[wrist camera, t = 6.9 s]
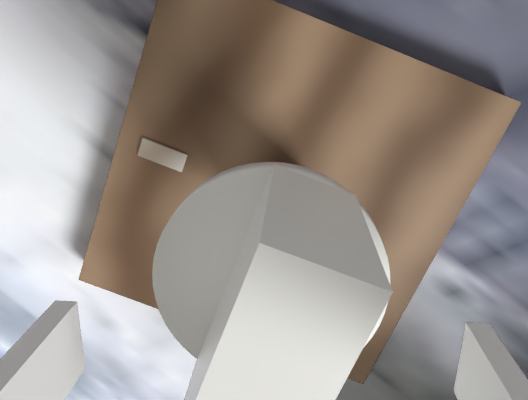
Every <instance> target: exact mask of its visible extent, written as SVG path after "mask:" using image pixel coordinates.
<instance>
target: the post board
mask: <svg viewBox="0 0 528 400" xmlns="http://www.w3.org/2000/svg"><path fill="white" fill-rule="evenodd" d="M520 104H521V102H519V101H516V100H514V99H511V98H509V97H507V96H504V95H502V94H499V93H497V92H494V91H492V90H490V89H487V88H485V87H482V86H480V85H477V84H475V83H473V82H470V81H468V80H465V79H463V78H460V77H458V76H455V75H453V74H451V73H448V72H446V71H443V70H441V69H438V68H436V67H434V66H431V65H429V64H426V63H424V62H421V61H419V60H417V59H414V58H412V57H409V56H407V55H404V54H402V53H400V52H397V51H395V50H392V49H390V48H387V47H385V46H383V45H380V44H378V43H375V42H373V41H370V40H368V39H365V38H363V37H361V36H358V35H356V34H353V33H351V32H348V31H346V30H344V29H341V28H339V27H336V26H334V25H331V24H329V23H327V22H324V21H322V20H319V19H317V18H314V17H312V16H310V15H307V14H305V13H302V12H300V11H297V10H295V9H293V8H290V7H288V6H285V5H283V4H280V3H278V2H275V1H273V0H157V3H156V7H155V10H154V14H153V17H152V21H151V24H150V28H149V32H148V35H147V39H146V42H145V46H144V49H143V53H142V56H141V60H140V64H139V67H138V71H137V74H136V78H135V81H134V85H133V88H132V92H131V95H130V99H129V103H128V106H127V110H126V113H125V117H124V120H123V124H122V127H121V131H120V135H119V138H118V142H117V145H116V149H115V152H114V156H113V159H112V163H111V166H110V170H109V174H108V177H107V181H106V184H105V188H104V191H103V195H102V198H101V202H100V206H99V209H98V213H97V216H96V220H95V223H94V227H93V230H92V234H91V237H90V241H89V245H88V248H87V252H86V255H85V259H84V262H83V266H82V269H81V273H80V277H79V280H81V281H84V282H86V283H89V284H92V285H94V286H97V287H100V288H103V289H105V290H108V291H111V292H114V293H116V294H119V295H122V296H124V297H127V298H130V299H133V300H135V301H138V302H141V303H144V304H146V305H149V306H152V307H154V308H157V309H159V308H158V305H157V302H156V299H155V294H154V289H153V279H152V269H153V258H154V254H155V250H156V246H157V243H158V241H159V238H160V236H161V234H162V231H163V230H164V228H165V226H166V225H167V223H168V221H169V220H170V218H171V217H172V215H173V214H174V212H175V211H176V210H177V208H178V207H179V206H180V204H181V203H182V202H183V201H184V199H185V198H186V197H187V196H188V195H189V194H190V193H191V192H192V191H193V190H194V189H195V188H197V187H198V186H199V185H200V184H202V183H203V182H205V181H206V180H208V179H209V178H211V177H213V176H215V175H217V174H219V173H221V172H222V171H225V170H228V169H231V168H234V167H236V166H241V165H245V164H250V163H258V162H284V163H289V164H295V165H300V166H303V167H306V168H310V169H313V170H315V171H318V172H320V173H322V174H324V175H326V176H328V177H330V178H331V179H333V180H335V181H336V182H338V183H339V184H341V185H342V186H343V187H345V188H346V189H347V190H348V191H349V192H351V193H352V194H354V195H356V197H357V199H358V201H359V202H360V203H361V204H362V205H363V206H364V208H365V209H366V211H367V212H368V214H369V215H370V217H371V218H372V220H373V222H374V224H375V226H376V228H377V231H378V233H379V235H380V238H381V240H382V242H383V245H384V248H385V251H386V254H387V257H388V262H389V268H390V286H391V289H392V291H393V293H392V295H391V297H390V299H389V301H388V304H387V308H386V311H385V314H384V316H383V319H382V321H381V323H380V325H379V327H378V329H377V330H376V332H375V334H374V335H373V337H372V338H371V339H370V341H369V342H368V343H367V344H366V345H365V347H364V348H363V349H362V351H361V353H360V355H359V357H358V359H357V361H356V362H355V364H354V366H353V368H352V370H351V372H350V374H349V376H348V377H347V378H348V379H351V380H354V381H356V382H359V383H362V384H363V383H364V381H365V379H366V378H367V376H368V374H369V372H370V371H371V369H372V367H373V365H374V363H375V362H376V360H377V358H378V356H379V355H380V353H381V351H382V349H383V347H384V346H385V344H386V342H387V340H388V339H389V337H390V335H391V333H392V332H393V330H394V328H395V326H396V324H397V323H398V321H399V319H400V317H401V316H402V314H403V312H404V310H405V308H406V307H407V305H408V303H409V301H410V300H411V298H412V296H413V294H414V292H415V291H416V289H417V287H418V285H419V284H420V282H421V280H422V278H423V276H424V275H425V273H426V271H427V269H428V268H429V266H430V264H431V262H432V260H433V259H434V257H435V255H436V253H437V252H438V250H439V248H440V246H441V245H442V243H443V241H444V239H445V237H446V236H447V234H448V232H449V230H450V229H451V227H452V225H453V223H454V221H455V220H456V218H457V216H458V214H459V213H460V211H461V209H462V207H463V205H464V204H465V202H466V200H467V198H468V197H469V195H470V193H471V191H472V189H473V188H474V186H475V184H476V182H477V181H478V179H479V177H480V175H481V173H482V172H483V170H484V168H485V166H486V165H487V163H488V161H489V159H490V157H491V156H492V154H493V152H494V150H495V149H496V147H497V145H498V143H499V142H500V140H501V138H502V136H503V134H504V133H505V131H506V129H507V127H508V126H509V124H510V122H511V120H512V118H513V117H514V115H515V113H516V111H517V110H518V108H519V106H520Z"/></svg>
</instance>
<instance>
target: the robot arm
mask: <svg viewBox="0 0 528 400" xmlns="http://www.w3.org/2000/svg"><path fill="white" fill-rule="evenodd" d="M84 369H85V363H84V354H83V346H82V338H81V330H80V322H79V314H78V306H77V302H74V301H55V302H54V303H53V304H52V305H51V306H50V307H49V308H48V309H47V310H46V311H45V312H44V313H43V314H42V315H41V316H40V317H39V319H38V320H37V321H36V322H35V323H34V324H33V325H32V326H31V327H30V328H29V329H28V330H27V331H26V332H25V333H24V334H23V336H22V337H21V338H20V339H19V340H18V341H17V342H16V343H15V344H14V345H13V346H12V347H11V348H10V349H9V350H8V351H7V353H6V354H5V355H4V356H3V357H2V358H1V359H0V400H65V398H66V397H67V395H68V394H69V392H70V391H71V389H72V388H73V386H74V385H75V383H76V382H77V380H78V379H79V377H80V376H81V374H82V372H83V371H84ZM454 393H455V395H456V397H457V400H528V379H527V378H526V376H525V375H524V373H523V372H522V370H521V369H520V367H519V366H518V364H517V363H516V361H515V360H514V358H513V357H512V356H511V354H510V353H509V351H508V350H507V348H506V347H505V345H504V344H503V342H502V341H501V339H500V338H499V336H498V335H497V333H496V332H495V330H494V329H493V328H492V326H491V325H490V323H471V322H466V324H465V330H464V335H463V341H462V347H461V352H460V358H459V364H458V369H457V375H456V381H455V386H454Z"/></svg>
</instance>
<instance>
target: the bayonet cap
mask: <svg viewBox="0 0 528 400" xmlns="http://www.w3.org/2000/svg"><path fill="white" fill-rule="evenodd" d="M152 279H153V289H154V294H155V299H156V302H157V305H158V308H159V311H160V314H161V316H162V318H163V320H164V322H165V324H166V325H167V327H168V328H169V330H170V331H171V333H172V334H173V336H174V337H175V338H176V339H177V340H178V342H179V343H180V344H181V345H182V346H183V347H184V348H185V349H186V350H187V351H188V352H189V353H190V354H192V355H193V356H194V357H195V358H197V361H196V364H195V367H194V370H193V373H192V376H191V379H190V383H189V386H188V389H187V392H186V395H185V398H184V400H336V398H337V396H338V394H339V392H340V390H341V389H342V387H343V385H344V383H345V381H346V379H347V377H348V376H349V374H350V372H351V370H352V368H353V366H354V364H355V362H356V361H357V359H358V357H359V355H360V353H361V351H362V349H363V348H364V347H365V345H366V344H367V343H368V342H369V341H370V339H371V338H372V337H373V335H374V334H375V332H376V330H377V329H378V327H379V325H380V323H381V321H382V319H383V316H384V314H385V311H386V308H387V304H388V301H389V299H390V297H391V295H392V293H393V291H392V289H391V286H390V268H389V262H388V257H387V254H386V251H385V248H384V245H383V242H382V240H381V238H380V235H379V233H378V231H377V228H376V226H375V224H374V222H373V220H372V218H371V217H370V215H369V214H368V212H367V211H366V209H365V208H364V206H363V205H362V204H361V203H360V202H359V201H358V199H357V197H356V195H354V194H352V193H351V192H349V191H348V190H347V189H346V188H345V187H343V186H342V185H341V184H339V183H338V182H336V181H335V180H333V179H331V178H330V177H328V176H326V175H324V174H322V173H320V172H318V171H315V170H313V169H310V168H306V167H303V166H300V165H295V164H289V163H284V162H258V163H250V164H245V165H241V166H236V167H234V168H231V169H228V170H225V171H222V172H221V173H219V174H217V175H215V176H213V177H211V178H209V179H208V180H206V181H205V182H203V183H202V184H200V185H199V186H198V187H197V188H195V189H194V190H193V191H192V192H191V193H190V194H189V195H188V196H187V197H186V198H185V199H184V201H183V202H182V203H181V204H180V206H179V207H178V208H177V210H176V211H175V212H174V214H173V215H172V217H171V218H170V220H169V221H168V223H167V225H166V226H165V228H164V230H163V231H162V234H161V236H160V238H159V241H158V243H157V246H156V250H155V254H154V258H153V269H152Z"/></svg>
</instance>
